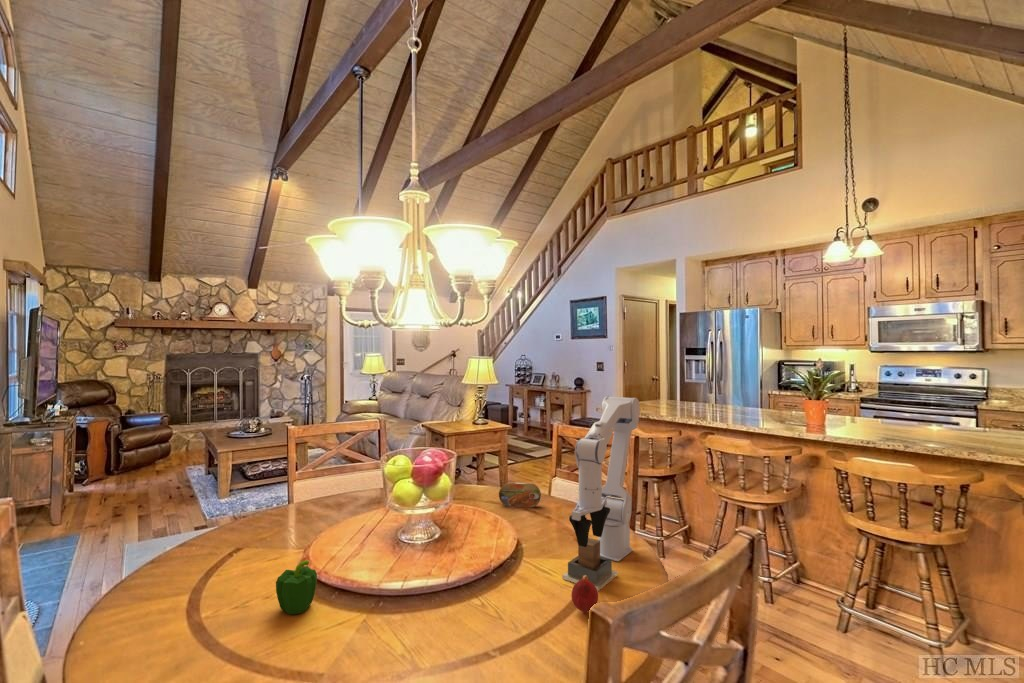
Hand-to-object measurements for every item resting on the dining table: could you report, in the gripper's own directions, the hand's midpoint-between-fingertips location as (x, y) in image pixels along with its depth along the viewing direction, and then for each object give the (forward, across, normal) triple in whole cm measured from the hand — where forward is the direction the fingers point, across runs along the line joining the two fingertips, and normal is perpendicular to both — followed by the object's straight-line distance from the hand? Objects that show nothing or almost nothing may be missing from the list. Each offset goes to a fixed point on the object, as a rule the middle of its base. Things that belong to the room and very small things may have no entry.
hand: (590, 540), depth 125 cm
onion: (+9, +15, +7) cm, 19 cm away
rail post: (+8, 0, 0) cm, 8 cm away
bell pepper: (+9, +53, -44) cm, 70 cm away
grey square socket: (+9, 0, 0) cm, 9 cm away
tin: (+10, -32, -46) cm, 57 cm away
